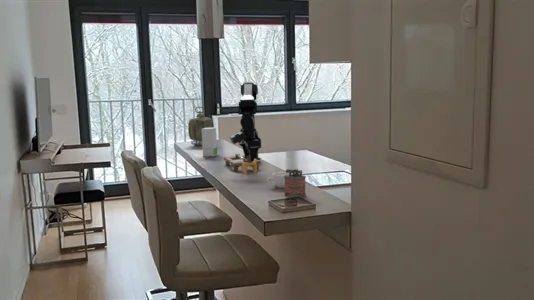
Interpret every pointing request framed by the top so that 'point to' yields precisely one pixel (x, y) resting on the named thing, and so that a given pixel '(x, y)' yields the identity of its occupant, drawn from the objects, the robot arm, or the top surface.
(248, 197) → the top surface
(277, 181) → the teacup
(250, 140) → the robot arm
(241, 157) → the silver metal rod
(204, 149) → the skincare box
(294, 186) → the lighter
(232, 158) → the wooden frame with rod
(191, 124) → the tabletop clock
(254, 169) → the yellow block
